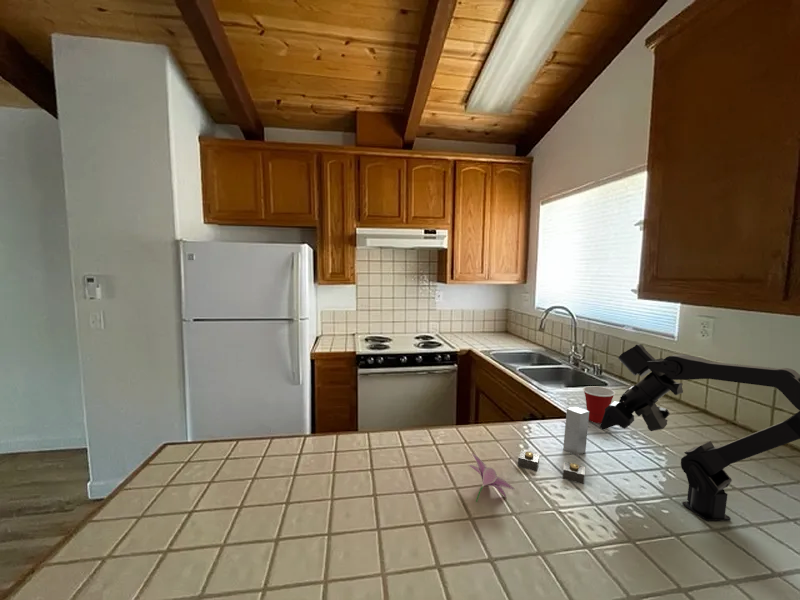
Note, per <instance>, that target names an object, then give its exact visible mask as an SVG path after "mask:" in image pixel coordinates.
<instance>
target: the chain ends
mask: <svg viewBox="0 0 800 600" xmlns="http://www.w3.org/2000/svg"><path fill="white" fill-rule="evenodd" d="M540 457H541V455H540V454H536V453H533V452H531V451H526V450H520V452H519V455H518V460H517V467H519V468H523V469H527V470H530V471H534V472H537V471H538V468H539V465H540ZM585 471H586V466H585V465H581V464H578V463H574V462H569V461H564V463H563V471H562V479H563V480H567V481H570V482H574V483H576V484H577V483H578V484H582V485H584V484H585V473H586V472H585Z"/></svg>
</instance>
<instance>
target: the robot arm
mask: <svg viewBox="0 0 800 600" xmlns="http://www.w3.org/2000/svg"><path fill="white" fill-rule="evenodd" d="M618 360H619V361H620V363H622V365H623V366H624V367H626V369H627V370H628V371H629V372H630V373H631V374H632V375H633V376H638V375H639V377H643V378H642V379H641V380H640V381H638V382H637V383H636V384H635V385H632V386H630V387H629V388H628V389H627V390H626V391H625V392H623V393H622V395H621V396H620V398H619V401H616V400H615V401H612V402H611V404H610V405H609V406H608V407H607V408H605V413H604V416H603V419H602V422H601V423H600V425H599V428H600V429H601V430H602V431H604V430H607V429H609V428H612V427H614V426H619V427H620V428H622V429H624V430H625V429H626V428H628V427H629V426H631V424H632V423H634V421H635V415H636V416H637V417H640V416H642V420H643V421H644V422H645V424H646V425H647V429H648V431H650V432H654V431H659V430H663V429H665V428H666V426H667V425H668V421H669V420H668V419H667V418H668V417H669V415H670V414H671V413H670V412H669V410H668V408H665V407H664V408H663V407H660V406H658V405H657V404H656V403H657V402H659V399H661V398H662V397H664V395H666V394H668V393H669V392H670V391H671V393H672V394H673V395H675V396H677V395H680V394H681V395H682V394H683V393H684V390H683V385H684V384H683V383H682V382H677V381H680V380H682V381H686V380H687V381H690V380H716V381H723V382H730V383H731V382H733V383H739V384H748V385H755V386H763V387H770V388H776V389H778V391H779V392H781V393H782V394H783V396H784V397H785V398H786V399H788V401H789V402H790V403H791V404H792V405H793V406H794V407H795V408H796V409H797V410H798V412H796V413H795V414H793V415H792V416H790V417H788V418H787V419H785V420H783V421H781V422H778V423H775V424H774V425H771V426H767V427H766V428H762V429H760V430H758V431H756V432H753V433H750V434H747V435H746V436H743V437H740V438H738V439H736V440H733V441H731V442H728V443H725V444H722V445H717V446H715V445H714V443H713V442H712V441H711V440H709V441H707V442H705V443H703V444H701V445H699V446H694V447H692V448H690V449H688V450H685V451H684V454H685V455H684V456H683V457H681V459H680V466H681V470H682V471H683V473H684V474H685V475H686V479H687V482H688V490H687V498H686V500H685V501H683V500H682V502H681V504H682V505H683V506H685V507H686V508H687V509H689V510H690V511H692V512H693V513H694V514H696V515H697V516H698V517H700V518H702V519H703V520H704V521H707V522H716V521H717V522H718V521H731V517H730V516H729V515H728V514H726V511H727V503H728V502H727V501H728V495H729V494H728V493H727V492H725V490H724V489H725V488H728V487H729V485H730V484H731V483H732V482H733V480H732V478H731V477H730V476H729V474H728V473H727V472H726V471H725V469H726V468H727V467H729V465H732V464H734V463H737V462H740V461H743V460H745V459H749V458H751V457H754V456H757V455H759V454H762V453H765V452H767V451H771V450H773V449H776V448H778V447H781V446H785V445H786V444H789V443H792V442H795V441H797V440H800V374H799V372H797V371H796V370H795V369H793V368H789V367H782V368H781V367H779V368H777V367H769V366H768V367H767V366H758V365H757V366H756V365H747V364H739V363H738V364H736V363H727V362H717V361H716V362H714V361H710V360H707V359H704V358H701V357H698V356H693V355H690V354H689V355H688V354H673V355H669V356H667V357H665V358H663V357H662V358H657V359H656V358H654V356H652V354H650V353H649V351H648V350H646V348H645V347H644V346H643V345H642V344H641V343H639V344H635V345H634V346H633V347H631V348H629V349H627V350H626V351H623V352H622V353H621V354H620V355H619V356H618ZM645 375H646V376H645ZM644 376H645V377H644ZM633 413H635V415H634V414H633Z"/></svg>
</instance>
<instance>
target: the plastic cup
mask: <svg viewBox="0 0 800 600" xmlns="http://www.w3.org/2000/svg"><path fill="white" fill-rule="evenodd" d="M582 391H583V393H584V397H585V405H586V406H585V407H586V410H587V411H589V420H588V421H589V422H592V423H595V424H601V422H602V419H603V416H604V413H605V408H607V407H608V406H609V405H610V404H611V403H612V402H613V399H614V396H615V394H616V391H614V390H613V389H612V388H607V387H603V386H595V385H594V386H593V385H592V386H591V385H590V386H589V385H588V386H583V388H582Z"/></svg>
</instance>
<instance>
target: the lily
mask: <svg viewBox="0 0 800 600" xmlns="http://www.w3.org/2000/svg"><path fill="white" fill-rule="evenodd" d="M471 455H472V456H473V458H474V460H475V462H476V465H473V464H468V466H469V467H470V468H471V469H472V470H474V471H475V472H477V473H478V474H479V475H480V477H481V481H482V485H481V487H480V489H479V491H478V494H477V497H476V500H475V503H478V500H479V497H480V494H481V492H482V489H483V487H485V486H491V487H494V488H495V489H496V490H498V491H499V492H500V494H502V496H503V497H504V498H506V499H507V495H506V492H505V490H504V488H506V489H511V490H513V491H516V488H515V487H514V486H513V485H512V484H510V483H509V482H508V481H507V480H506V479H504V478H503V477H500V476H498V474H497V472H496V470H495V469H494V468H493V467H491V466H490V467H487V465H486V463H485V462H484V461H483V460H482V459H481V458H480V457H479V456H478V455H476V454H474V453H473V452H471Z"/></svg>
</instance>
